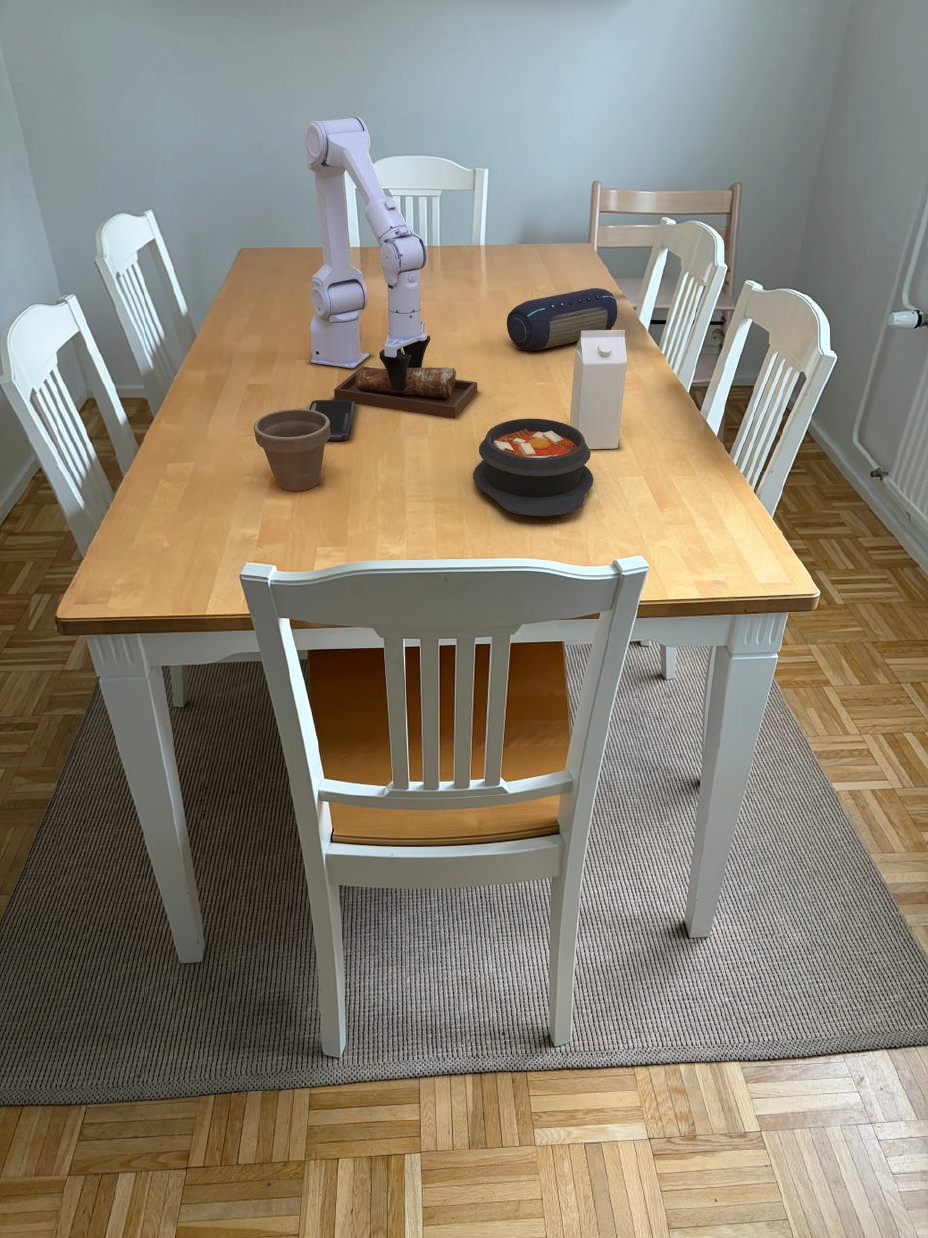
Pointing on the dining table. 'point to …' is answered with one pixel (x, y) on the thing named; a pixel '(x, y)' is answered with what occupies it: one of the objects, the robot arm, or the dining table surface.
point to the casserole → (535, 467)
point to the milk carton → (599, 387)
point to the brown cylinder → (410, 381)
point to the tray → (409, 398)
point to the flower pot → (294, 446)
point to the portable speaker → (561, 318)
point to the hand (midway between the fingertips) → (406, 382)
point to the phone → (336, 416)
